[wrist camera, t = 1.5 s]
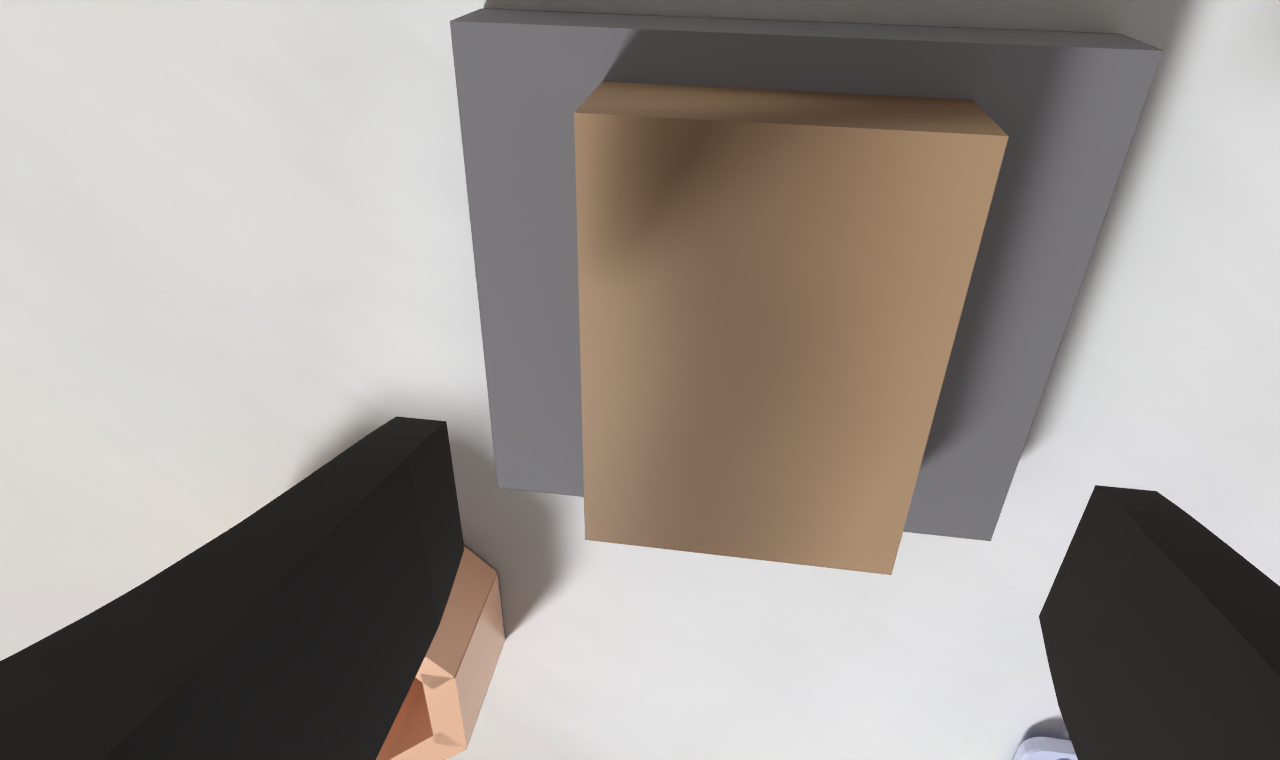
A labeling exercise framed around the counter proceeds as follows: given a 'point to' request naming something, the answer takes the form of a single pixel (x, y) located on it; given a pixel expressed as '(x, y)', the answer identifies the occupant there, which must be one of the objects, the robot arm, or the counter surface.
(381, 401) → the counter surface
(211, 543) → the robot arm
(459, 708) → the bowl
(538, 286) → the mat
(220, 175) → the counter surface
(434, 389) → the counter surface
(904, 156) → the tan flat block
